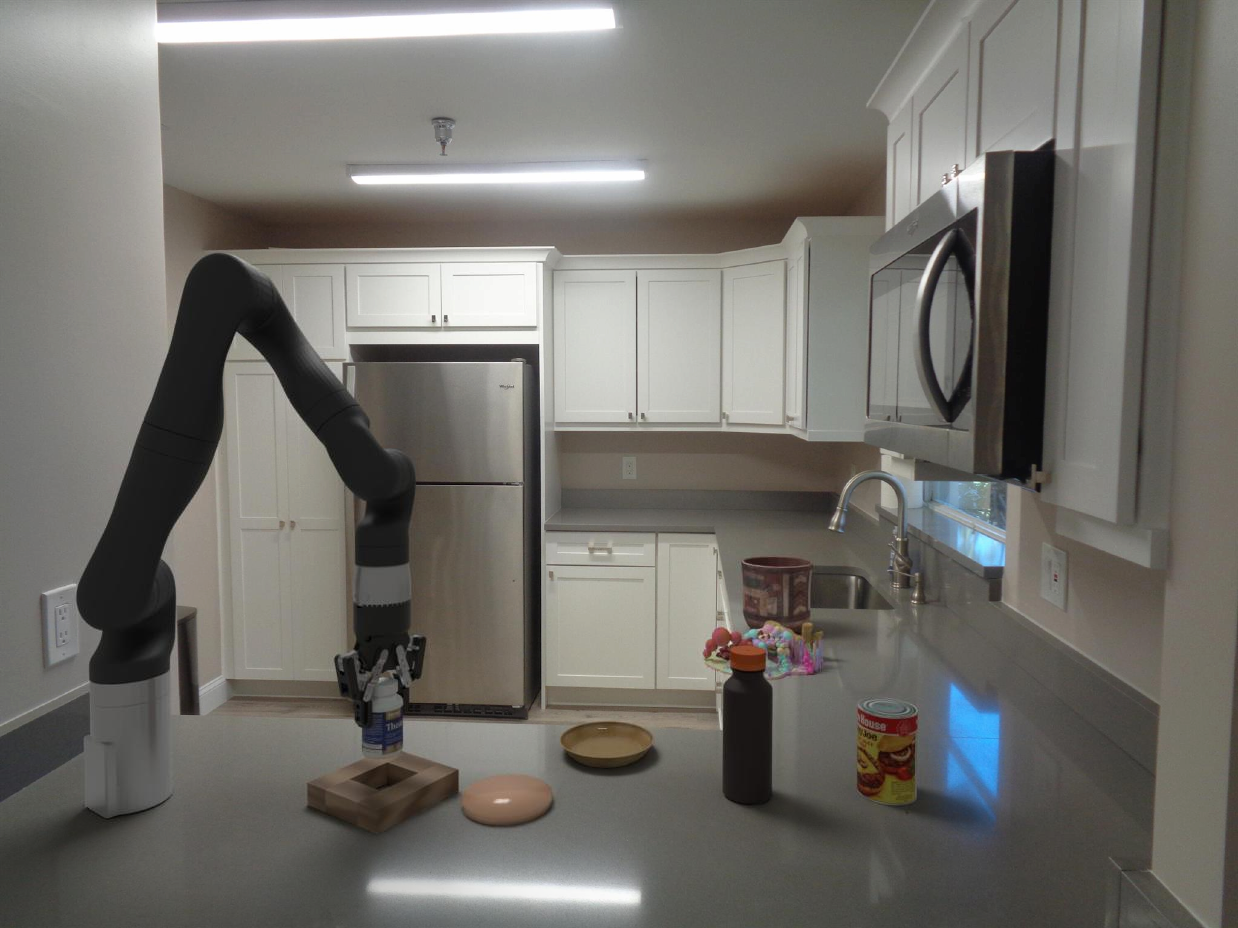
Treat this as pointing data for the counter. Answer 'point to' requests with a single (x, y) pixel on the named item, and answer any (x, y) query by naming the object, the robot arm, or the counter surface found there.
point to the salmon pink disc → (506, 799)
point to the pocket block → (379, 810)
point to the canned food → (887, 750)
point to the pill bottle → (384, 722)
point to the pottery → (776, 591)
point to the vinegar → (747, 728)
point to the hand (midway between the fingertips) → (382, 719)
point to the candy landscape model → (769, 649)
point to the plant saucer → (606, 743)
